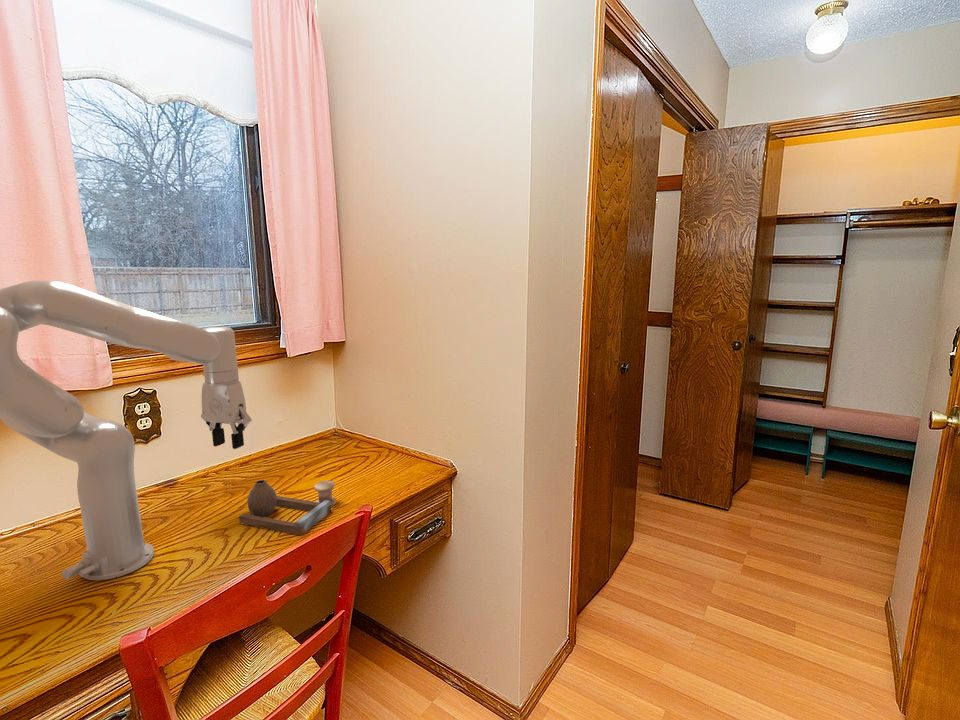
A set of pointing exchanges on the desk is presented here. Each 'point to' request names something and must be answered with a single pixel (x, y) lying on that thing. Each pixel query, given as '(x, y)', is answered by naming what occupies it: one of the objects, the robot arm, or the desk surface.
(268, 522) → the channel
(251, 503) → the vase
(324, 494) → the thread spool
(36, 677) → the desk surface
